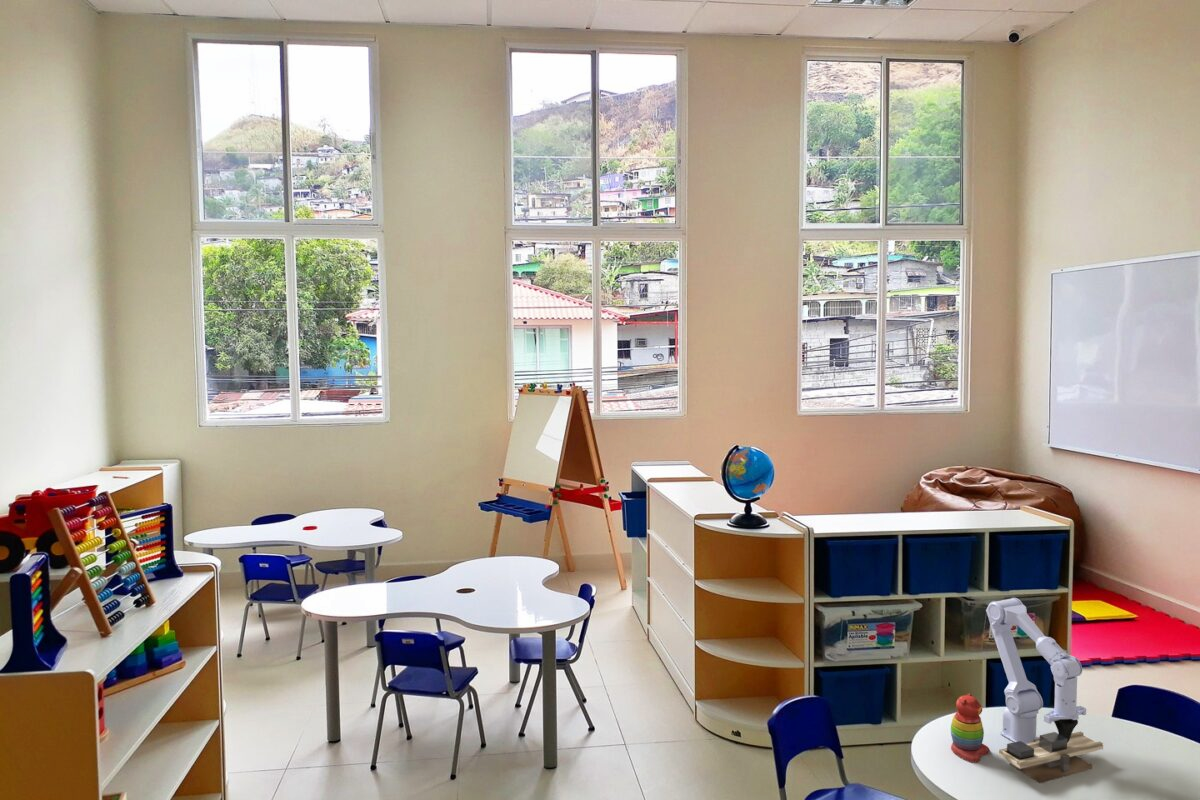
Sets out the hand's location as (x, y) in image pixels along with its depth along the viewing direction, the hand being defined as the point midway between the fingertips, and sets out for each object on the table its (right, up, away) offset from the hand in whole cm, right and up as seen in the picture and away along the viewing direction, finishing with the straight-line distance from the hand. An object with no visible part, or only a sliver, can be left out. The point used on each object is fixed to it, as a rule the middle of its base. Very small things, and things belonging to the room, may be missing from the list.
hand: (1064, 741), depth 254 cm
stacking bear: (-25, -7, +9) cm, 27 cm away
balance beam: (-5, -2, -1) cm, 5 cm away
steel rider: (-4, -2, -1) cm, 4 cm away
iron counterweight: (-16, -2, -6) cm, 17 cm away
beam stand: (-5, -7, -1) cm, 9 cm away
